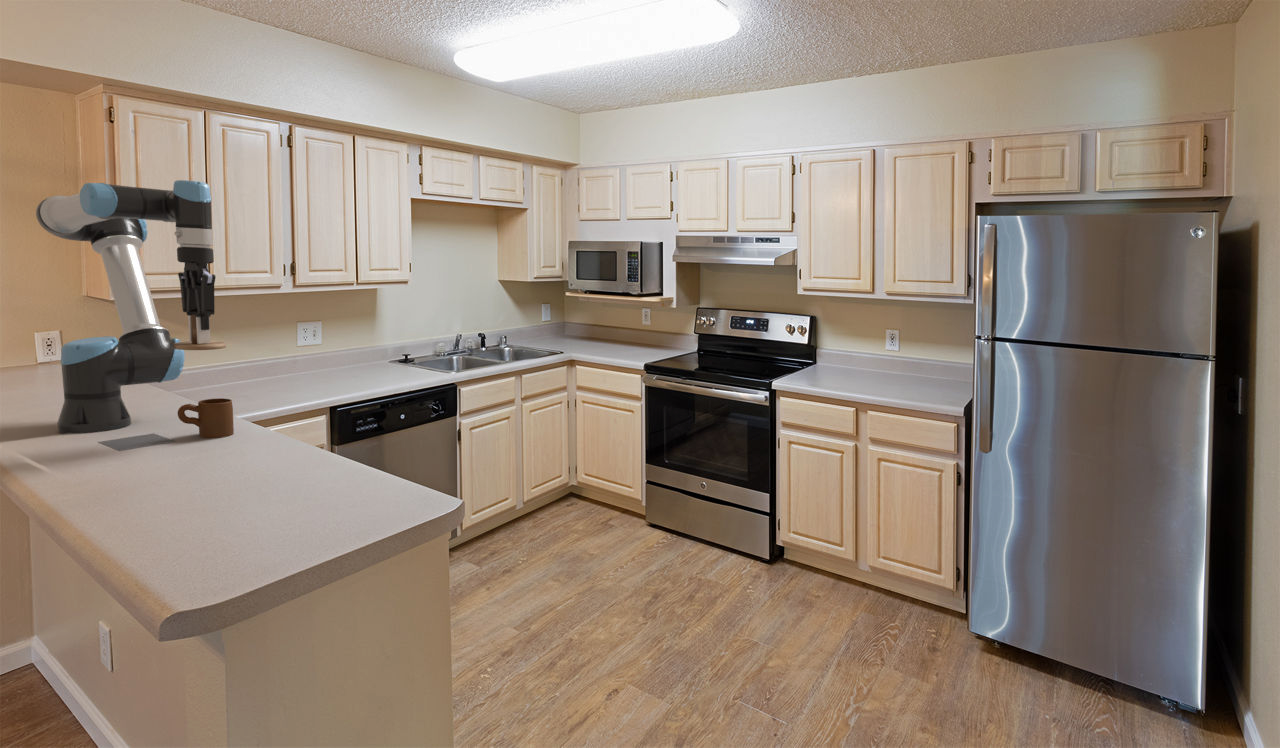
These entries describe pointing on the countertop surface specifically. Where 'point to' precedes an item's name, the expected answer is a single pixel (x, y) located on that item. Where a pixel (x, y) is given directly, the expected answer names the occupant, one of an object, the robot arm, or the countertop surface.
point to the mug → (210, 417)
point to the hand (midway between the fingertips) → (200, 342)
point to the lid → (193, 344)
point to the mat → (136, 442)
